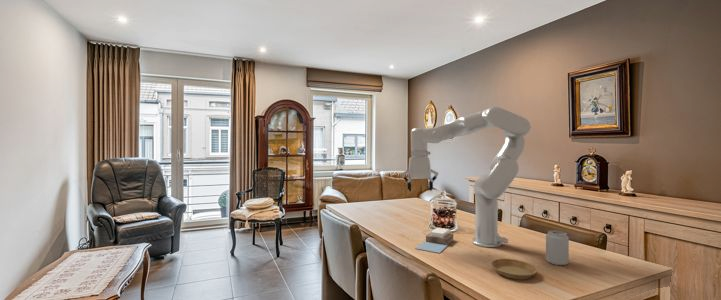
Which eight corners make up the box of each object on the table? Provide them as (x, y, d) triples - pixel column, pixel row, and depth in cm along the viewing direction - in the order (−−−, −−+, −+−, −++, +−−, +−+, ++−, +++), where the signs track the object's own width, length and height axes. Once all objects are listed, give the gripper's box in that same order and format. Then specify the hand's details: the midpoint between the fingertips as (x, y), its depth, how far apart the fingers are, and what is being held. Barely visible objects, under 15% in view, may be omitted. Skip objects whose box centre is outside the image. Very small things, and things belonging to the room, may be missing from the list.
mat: (447, 246, 143) (447, 245, 143) (439, 253, 133) (439, 252, 133) (424, 242, 149) (424, 241, 149) (415, 249, 139) (415, 248, 139)
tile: (449, 233, 153) (449, 229, 153) (443, 238, 145) (443, 233, 145) (437, 231, 156) (437, 227, 156) (430, 236, 148) (430, 231, 148)
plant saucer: (538, 270, 115) (538, 263, 115) (535, 286, 103) (535, 278, 103) (495, 262, 123) (495, 256, 123) (487, 276, 111) (487, 268, 111)
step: (453, 240, 152) (453, 233, 152) (446, 245, 143) (446, 239, 143) (433, 236, 157) (433, 231, 157) (425, 242, 149) (425, 236, 149)
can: (565, 260, 124) (565, 230, 124) (571, 267, 117) (571, 235, 117) (543, 258, 127) (543, 228, 126) (548, 265, 120) (548, 233, 119)
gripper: (436, 153, 152) (437, 189, 153) (400, 154, 153) (401, 189, 154) (439, 154, 145) (440, 191, 145) (401, 155, 146) (402, 192, 146)
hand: (420, 190), depth 149 cm, fingers open, 9 cm apart
